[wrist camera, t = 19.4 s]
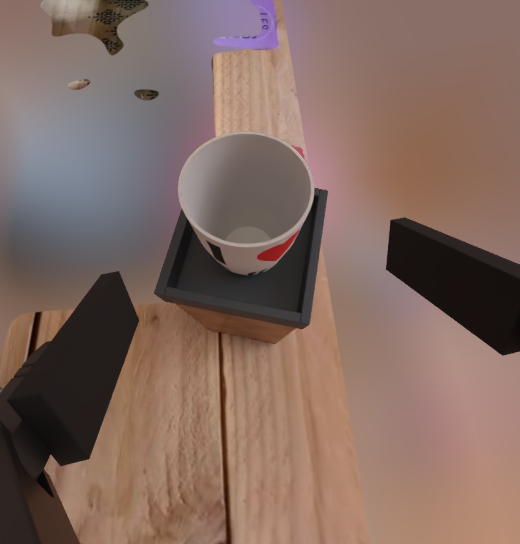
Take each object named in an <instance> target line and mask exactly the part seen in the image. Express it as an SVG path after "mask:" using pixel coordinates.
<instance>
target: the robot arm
mask: <svg viewBox="0 0 520 544" xmlns="http://www.w3.org/2000/svg"><path fill="white" fill-rule="evenodd" d="M386 270H388V271H389V272H390V273H392V274H393V275H394V276H396V277H397V278H398V279H400V280H401V281H403V282H404V283H405V284H407V285H408V286H409V287H411V288H412V289H413V290H415V291H416V292H417V293H419V294H420V295H421V296H423V297H424V298H425V299H427V300H428V301H430V302H431V303H432V304H434V305H435V306H436V307H438V308H439V309H440V310H442V311H443V312H444V313H446V314H447V315H448V316H450V317H451V318H453V319H454V320H455V321H457V322H458V323H459V324H461V325H462V326H463V327H465V328H466V329H467V330H469V331H470V332H471V333H473V334H474V335H476V336H477V337H478V338H480V339H481V340H482V341H484V342H485V343H486V344H488V345H489V346H490V347H492V348H493V349H494V350H496V351H497V352H498V353H500V354H501V355H507V354H511V353H515V352H519V351H520V264H517V263H515V262H512V261H510V260H507V259H505V258H502V257H500V256H498V255H495V254H493V253H490V252H488V251H485V250H483V249H481V248H478V247H475V246H473V245H471V244H468V243H466V242H463V241H460V240H458V239H456V238H454V237H451V236H449V235H446V234H444V233H442V232H439V231H437V230H434V229H432V228H429V227H427V226H424V225H422V224H420V223H417V222H415V221H412V220H410V219H407V218H400V219H394V220H391V221H390V232H389V243H388V254H387V265H386ZM138 322H139V319H138V316H137V314H136V311H135V309H134V307H133V304H132V302H131V300H130V297H129V295H128V292H127V290H126V287H125V285H124V283H123V280H122V278H121V275H120V273H119V271H118V272H113V273H107V274H102V275H101V276H100V277H99V279H98V280H97V281H96V282H95V284H94V285H93V286H92V288H91V289H90V290H89V292H88V293H87V294H86V296H85V297H84V298H83V300H82V301H81V302H80V304H79V305H78V306H77V308H76V309H75V310H74V312H73V313H72V314H71V316H70V317H69V318H68V320H67V321H66V322H65V324H64V325H63V326H62V328H61V329H60V330H59V332H58V333H57V334H56V336H55V337H54V338H53V340H52V341H49V342H46V343H44V344H43V345H42V346H41V347H39V348H38V349H37V350H36V351H34V352H33V353H32V354H31V355H30V357H29V358H28V359H27V360H26V362H25V363H24V364H23V365H22V368H20V369H19V370H18V372H17V373H16V374H15V375H14V378H13V379H11V380H10V382H9V383H8V384H7V385H6V387H5V388H4V389H3V388H2V387H0V544H80V543H79V541H78V538H77V536H76V534H75V532H74V530H73V527H72V525H71V523H70V521H69V518H68V516H67V514H66V512H65V510H64V507H63V505H62V503H61V501H60V498H59V496H58V494H57V492H56V490H55V487H54V485H53V483H52V481H51V478H50V476H49V475H48V474H47V473H46V471H45V470H44V467H45V465H46V463H47V461H48V459H49V456H50V454H51V455H52V456H53V457H54V459H55V460H56V461H57V462H58V463H59V465H60V466H63V465H67V464H71V463H75V462H79V461H83V460H87V459H89V458H90V455H91V452H92V450H93V447H94V444H95V441H96V439H97V436H98V433H99V430H100V427H101V425H102V422H103V419H104V416H105V414H106V411H107V408H108V405H109V402H110V400H111V397H112V394H113V391H114V389H115V386H116V383H117V380H118V378H119V375H120V372H121V369H122V366H123V364H124V361H125V358H126V355H127V353H128V350H129V347H130V344H131V341H132V339H133V336H134V333H135V330H136V328H137V325H138Z"/></svg>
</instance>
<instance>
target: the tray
mask: <svg viewBox="0 0 520 544" xmlns="http://www.w3.org/2000/svg"><path fill="white" fill-rule="evenodd" d="M327 194H328V191H327V190H322V189H320V190H319V189H318V188H314V198H313V203H312V206H311V209H310V211H309V213H308V215H307V217H306V219H305V221H304V223H303V225H302V227H301V229H300V231H299V233H298V235H297V237H296V239H295V241H294V242H293V244H292V246H291V247H290V248H289V250H288V251H287V252H286V253H285V254H284V255H283V256H282V258H281V259H280V260H279V261H278V262H277V263H276V264H275V265H274V266H273V267H272V268H270V269H269V270H267V271H265V272H262V273H259V274H256V275H251V276H246V275H240V274H236V273H233V272H231V271H229V270H227V269H225V268H224V267H223V266H221V265H220V264H219V263H218V262H217V261H216V260H215V259H214V257H213V256H212V255H211V254H210V253H209V252H208V251H207V250H206V249H205V248H204V246H203V245H202V243H201V241H200V240H199V238H198V236H197V234H196V233H195V231H194V229H193V227H192V226H191V224H190V222H189V220H188V219H187V217H186V215H185V213H184V211H183V209H182V210H181V213H180V216H179V219H178V222H177V225H176V228H175V231H174V234H173V237H172V240H171V243H170V246H169V249H168V252H167V255H166V258H165V262H164V264H163V267H162V271H161V274H160V277H159V280H158V283H157V286H156V289H155V292H154V294H156V295H157V296H158V297H160V298H161V299H162V300H164V301H166V302H170V303H175V304H180V305H185V306H190V307H195V308H200V309H205V310H210V311H215V312H220V313H225V314H230V315H235V316H240V317H245V318H250V319H255V320H259V321H264V322H269V323H274V324H279V325H284V326H289V327H294V328H299V329H304V328H305V327H306V326H308V325H309V324H310V318H311V311H312V304H313V296H314V289H315V282H316V274H317V267H318V260H319V253H320V245H321V238H322V231H323V223H324V216H325V209H326V202H327Z"/></svg>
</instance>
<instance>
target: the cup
mask: <svg viewBox="0 0 520 544" xmlns="http://www.w3.org/2000/svg"><path fill="white" fill-rule="evenodd" d="M178 195H179V200H180V204H181V207H182V209H183V211H184V213H185V215H186V217H187V219H188V220H189V222H190V224H191V226H192V227H193V229H194V231H195V233H196V234H197V236H198V238H199V240H200V241H201V243H202V245H203V246H204V248H205V249H206V250H207V251H208V252H209V253H210V254H211V255H212V256H213V257H214V259H215V260H216V261H217V262H218V263H219V264H220V265H221V266H223V267H224V268H225V269H227V270H229V271H231V272H233V273H236V274H240V275H246V276H251V275H256V274H259V273H262V272H265V271H267V270H269V269H270V268H272V267H273V266H274V265H275V264H276V263H277V262H278V261H279V260H280V259H281V258H282V256H283V255H284V254H285V253H286V252H287V251H288V250H289V248H290V247H291V246H292V244H293V242H294V241H295V239H296V237H297V235H298V233H299V231H300V229H301V227H302V225H303V223H304V221H305V219H306V217H307V215H308V213H309V211H310V209H311V206H312V203H313V198H314V181H313V177H312V174H311V171H310V169H309V167H308V165H307V163H306V161H305V160H304V159H303V157H302V156H301V155H300V154H299V153H298V152H297V151H296V150H295V149H294V148H293V147H291V146H290V145H289V144H287V143H286V142H284V141H282V140H280V139H278V138H276V137H273V136H270V135H267V134H263V133H258V132H233V133H228V134H224V135H221V136H218V137H216V138H213V139H211V140H209V141H208V142H206V143H204V144H203V145H202V146H200V147H199V148H198V149H197V150H195V151H194V153H193V154H192V155H191V156H190V157H189V159H188V160H187V161H186V163H185V165H184V167H183V169H182V171H181V174H180V178H179V183H178Z"/></svg>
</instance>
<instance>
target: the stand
mask: <svg viewBox="0 0 520 544" xmlns="http://www.w3.org/2000/svg"><path fill="white" fill-rule="evenodd" d="M177 305H178V306H179V307H180V308H182V309H183V310H184V311H185V312H187V313H188V314H189V315H191V316H192V317H193V318H194V319H196V320H197V321H198V322H199V323H201V324H202V325H203V326H205V327H206V328H207V329H208V330H211V331H216V332H221V333H225V334H230V335H235V336H240V337H245V338H250V339H255V340H260V341H265V342H270V343H274V344H276V343H277V342H279V341H280V340H281V339H282V338H284V337H285V336H286V335H288V334H289V333H290V332H292V331H293V330H294V329H296V328H294V327H289V326H284V325H279V324H274V323H269V322H264V321H259V320H255V319H250V318H245V317H240V316H235V315H230V314H225V313H220V312H215V311H210V310H205V309H200V308H195V307H190V306H185V305H180V304H177Z"/></svg>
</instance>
